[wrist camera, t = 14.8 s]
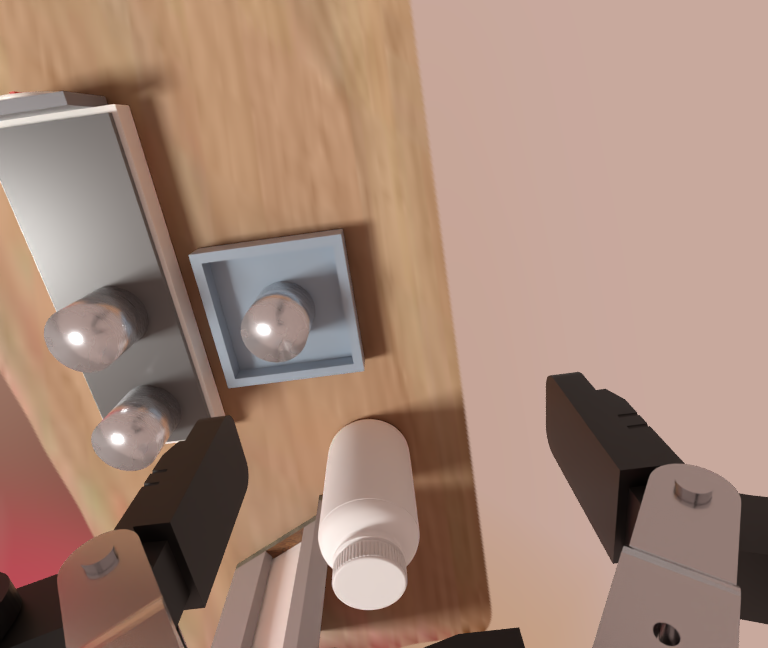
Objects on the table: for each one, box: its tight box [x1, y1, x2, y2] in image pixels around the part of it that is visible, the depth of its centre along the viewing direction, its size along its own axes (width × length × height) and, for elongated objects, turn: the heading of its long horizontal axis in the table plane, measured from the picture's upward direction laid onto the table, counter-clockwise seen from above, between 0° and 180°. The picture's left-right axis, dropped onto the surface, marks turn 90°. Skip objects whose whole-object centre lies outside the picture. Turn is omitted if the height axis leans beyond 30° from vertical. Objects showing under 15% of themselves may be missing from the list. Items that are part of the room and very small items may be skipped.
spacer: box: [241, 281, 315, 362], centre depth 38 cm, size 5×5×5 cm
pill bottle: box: [318, 419, 420, 610], centre depth 40 cm, size 8×8×15 cm
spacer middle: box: [44, 286, 148, 373], centre depth 36 cm, size 5×5×5 cm
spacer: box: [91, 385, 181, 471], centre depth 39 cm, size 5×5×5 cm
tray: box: [188, 229, 365, 388], centre depth 39 cm, size 12×12×2 cm
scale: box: [0, 91, 225, 444], centre depth 37 cm, size 29×10×5 cm, turn 8°
